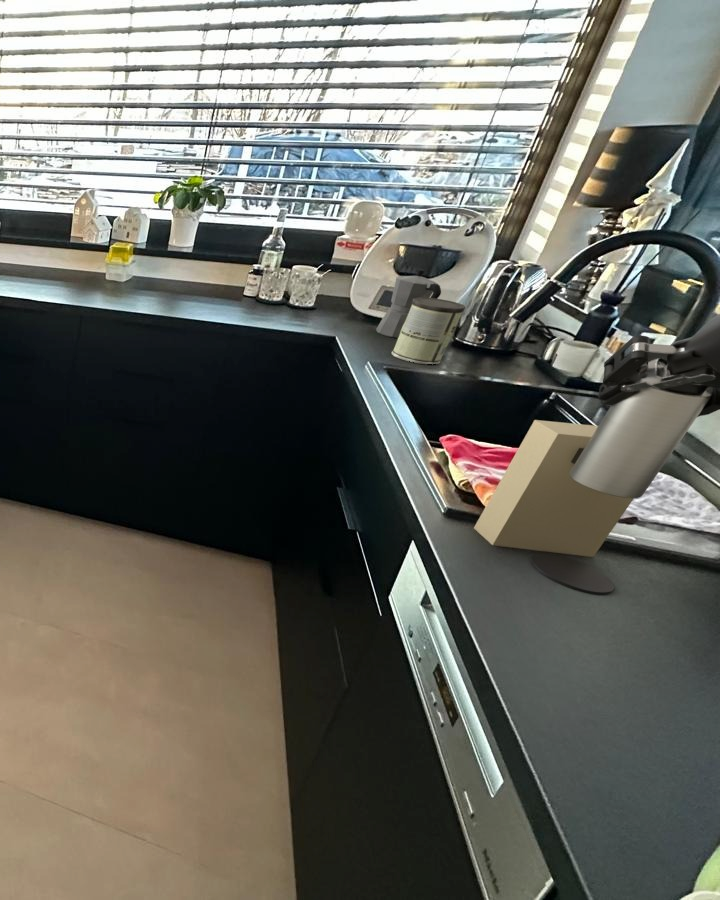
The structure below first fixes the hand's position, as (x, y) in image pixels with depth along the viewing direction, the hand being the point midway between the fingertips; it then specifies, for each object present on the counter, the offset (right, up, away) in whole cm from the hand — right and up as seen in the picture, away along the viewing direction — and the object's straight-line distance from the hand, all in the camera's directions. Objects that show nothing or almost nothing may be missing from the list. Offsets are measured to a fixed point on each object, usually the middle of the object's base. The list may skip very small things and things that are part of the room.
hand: (645, 403), depth 67 cm
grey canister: (-1, -9, +3) cm, 9 cm away
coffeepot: (+56, +27, +107) cm, 124 cm away
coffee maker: (+3, -21, +13) cm, 24 cm away
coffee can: (+47, +18, +90) cm, 103 cm away
